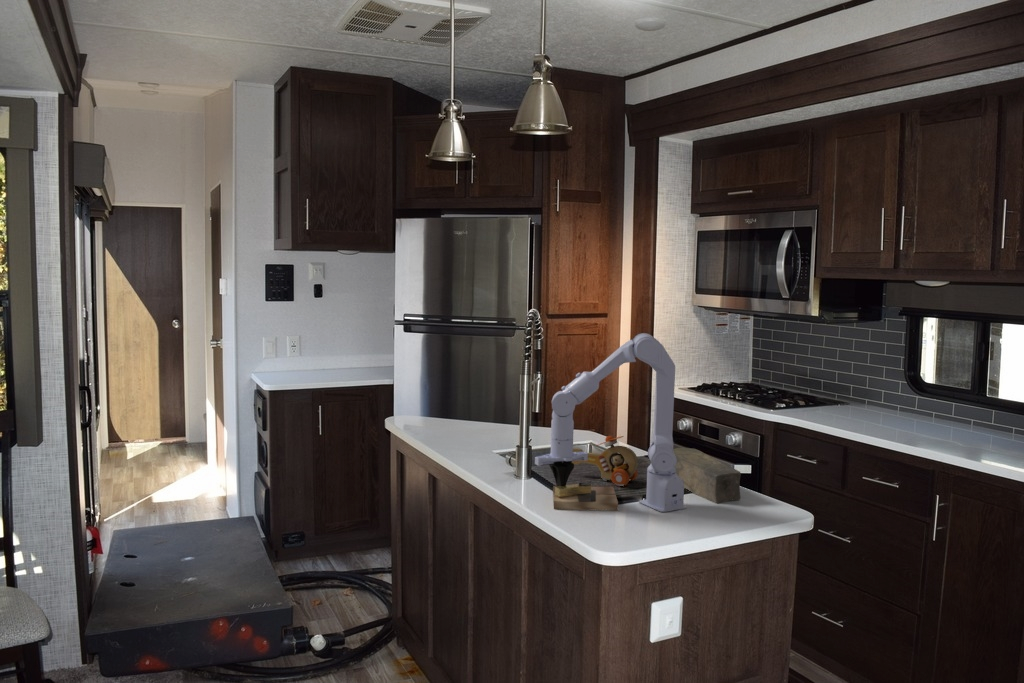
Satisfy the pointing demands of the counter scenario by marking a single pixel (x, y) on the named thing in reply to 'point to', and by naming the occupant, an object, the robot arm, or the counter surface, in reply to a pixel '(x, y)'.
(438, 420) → the counter surface
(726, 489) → the weathered wooden bar
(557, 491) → the swing bar
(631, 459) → the toy helicopter
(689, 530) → the counter surface
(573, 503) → the lock board
